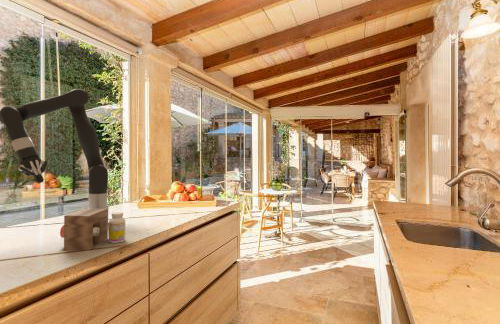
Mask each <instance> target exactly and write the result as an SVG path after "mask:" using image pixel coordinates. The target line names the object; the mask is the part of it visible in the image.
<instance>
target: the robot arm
mask: <svg viewBox="0 0 500 324" xmlns="http://www.w3.org/2000/svg"><path fill="white" fill-rule="evenodd" d="M89 100H90V96H89V94H88V92H87V91H85V90H84V89H82V88H73V89H71V90H70V91H68V92H66V93H63V94H60V95H58V96H57V95H56V96H53V97H48V98H44V99H39V100H35V101H31V102H26V103H24V104H22V105H20V106H18V107H14V106H11V105H9V106H8V105H7V106H3V107H2V108H1V109H0V123H2V124H4V125H5V128H6V129H7V135H8V137H9V140H10V141H11V144H12V148H13V150H14V152H15V154H16V156H17V159H19V161H20V166H18V167H17V169H16V170H17V171H19V172H21V173H22V174H24V175H26V176H28V177H33V178H34V180H35V183H37V184H40V183H44V180H45V179H44V177H43V175H42V174H43V173H44V172H45V171H46V168H47V165H48V161H47V160H45V161H44V160H42V159H41V157H40V156H39V153H38V151H37V149H36V147H35V145H34V143H33V140H32V139H31V137H30V135H29V133H28V131H27V129H26V128H25V124H24V121H27V120H29V119H32V118H36V117H39V116H43V115H47V114H50V113H53V112H55V111H57V110H61V109H65V108H68V110H69V112H70V114H71V117H72V119H73V123H74V128H75V131H76V135H77V138H78V142H79V144H80V147H81V150H82V153H83V154H84V156H85V160H86V163H87V169H88V202H87V203H88V207H87V208H89V209H108V210H109V205H108V187H109V185H108V184H109V171H108V169H107V167H106V166H105V165H104V163H103V159H102V156H101V152H100V150H101V149H100V143H99V142H100V141H99V138H98V135H97V134H98V133H97V132H96V129H95V126H94V124H92V121H91V120H90V119H89V117H88V115H87V111H86V108H85V105H86V104H87V103H89Z"/></svg>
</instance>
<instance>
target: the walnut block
mask: <svg viewBox="0 0 500 324" xmlns="http://www.w3.org/2000/svg"><path fill="white" fill-rule="evenodd" d="M63 220H64V221H63V222H64V223H63V225H64V238H63V250H64V251H90V250H91V249H93V247H94V245H93V244H101V243H103V242H105V241H106V240H109V208H108V209H89V208H88V207H86V208H84V209H81V210H78V211H75V212H72V213H68V214H65V215H64V218H63ZM93 227H99V229H100V232H99V235H98V236H93Z"/></svg>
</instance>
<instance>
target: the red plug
mask: <svg viewBox="0 0 500 324" xmlns="http://www.w3.org/2000/svg"><path fill="white" fill-rule="evenodd" d="M59 231H60V232H59V235H60V238H62V239H64V224H62V226H61V228H60V230H59ZM99 232H100V229H99V227H93V236H98V235H99Z"/></svg>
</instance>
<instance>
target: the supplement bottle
mask: <svg viewBox="0 0 500 324" xmlns="http://www.w3.org/2000/svg"><path fill="white" fill-rule="evenodd" d="M123 216H124V212H122V211H117V212H116V211H115V212H112V213H111V217H112V218H110V219H109V220H108V242H109V243H113V244H117V243H119V244H120V243H124V241H125V240H126V219H125V217H123Z"/></svg>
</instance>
